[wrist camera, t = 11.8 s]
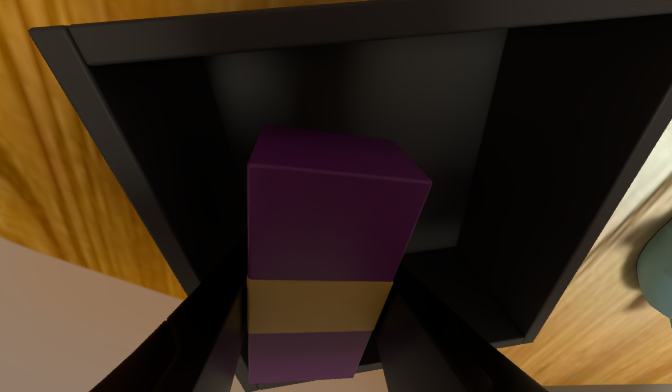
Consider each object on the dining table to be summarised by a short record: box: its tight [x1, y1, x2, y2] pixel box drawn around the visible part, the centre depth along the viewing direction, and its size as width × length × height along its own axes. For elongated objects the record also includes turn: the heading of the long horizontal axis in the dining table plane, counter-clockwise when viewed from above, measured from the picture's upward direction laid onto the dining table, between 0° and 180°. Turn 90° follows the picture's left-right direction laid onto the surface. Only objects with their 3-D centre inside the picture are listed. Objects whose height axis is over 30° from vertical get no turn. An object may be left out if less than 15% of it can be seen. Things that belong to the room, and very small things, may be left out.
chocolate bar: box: [247, 124, 432, 384], centre depth 8 cm, size 8×4×2 cm, turn 170°
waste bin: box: [28, 0, 672, 392], centre depth 11 cm, size 13×13×6 cm
